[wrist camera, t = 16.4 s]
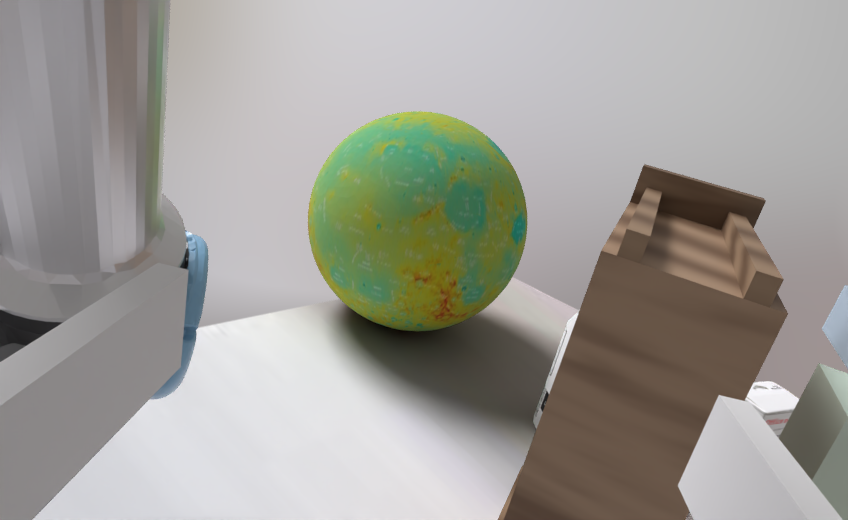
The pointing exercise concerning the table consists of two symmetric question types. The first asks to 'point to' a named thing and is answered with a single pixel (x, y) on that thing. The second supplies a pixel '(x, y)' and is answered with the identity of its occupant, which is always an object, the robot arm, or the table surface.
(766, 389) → the ink box
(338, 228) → the globe
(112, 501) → the table surface
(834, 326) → the pale blue bar
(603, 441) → the stand
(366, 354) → the table surface
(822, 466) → the upper block
